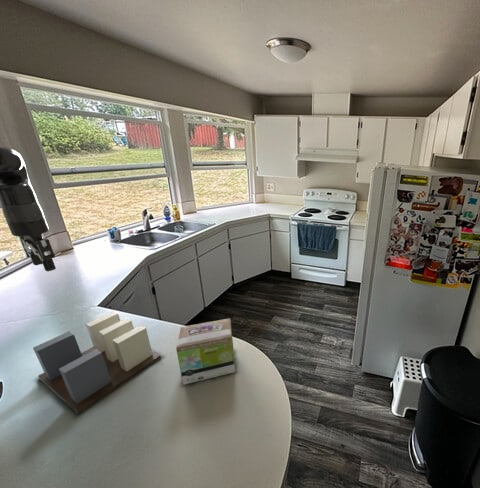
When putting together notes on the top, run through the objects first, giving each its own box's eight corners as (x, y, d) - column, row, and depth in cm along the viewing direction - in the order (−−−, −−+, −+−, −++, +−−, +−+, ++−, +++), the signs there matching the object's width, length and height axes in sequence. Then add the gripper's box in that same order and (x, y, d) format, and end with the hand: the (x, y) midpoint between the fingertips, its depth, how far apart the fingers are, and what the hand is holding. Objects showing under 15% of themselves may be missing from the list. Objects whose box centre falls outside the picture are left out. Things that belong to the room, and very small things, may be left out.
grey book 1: (50, 380, 74) (37, 351, 70) (46, 376, 75) (32, 347, 71) (84, 361, 81) (73, 334, 77) (79, 358, 82) (69, 331, 78)
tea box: (183, 387, 75) (174, 348, 70) (186, 362, 83) (179, 325, 78) (235, 373, 80) (231, 335, 75) (234, 351, 89) (230, 316, 84)
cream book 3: (126, 371, 78) (117, 343, 74) (121, 368, 79) (112, 340, 75) (152, 354, 84) (146, 328, 81) (147, 351, 86) (140, 325, 82)
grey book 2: (77, 404, 68) (64, 373, 64) (71, 399, 69) (58, 368, 65) (111, 381, 74) (101, 352, 71) (106, 377, 76) (96, 348, 72)
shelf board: (78, 414, 66) (77, 411, 66) (39, 378, 76) (37, 375, 75) (161, 358, 85) (160, 355, 84) (121, 335, 94) (120, 332, 94)
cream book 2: (112, 362, 81) (103, 334, 77) (107, 358, 82) (98, 331, 78) (138, 346, 88) (131, 320, 84) (133, 343, 89) (126, 317, 85)
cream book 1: (99, 353, 84) (90, 326, 80) (94, 350, 85) (85, 323, 82) (125, 338, 91) (118, 313, 87) (121, 336, 92) (113, 311, 88)
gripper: (-3, 217, 74) (18, 266, 79) (16, 224, 68) (37, 277, 74) (33, 212, 80) (50, 258, 86) (53, 218, 74) (71, 267, 80)
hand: (44, 267), depth 80 cm, fingers open, 8 cm apart
